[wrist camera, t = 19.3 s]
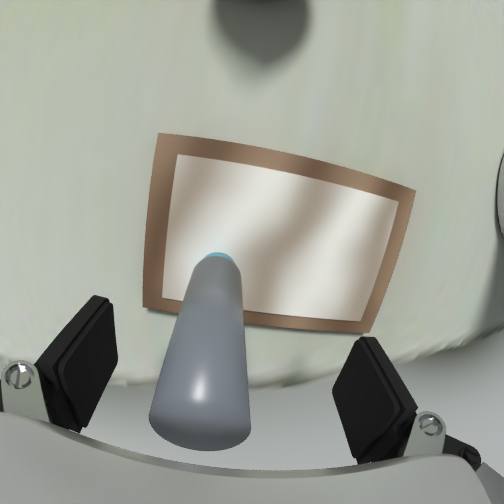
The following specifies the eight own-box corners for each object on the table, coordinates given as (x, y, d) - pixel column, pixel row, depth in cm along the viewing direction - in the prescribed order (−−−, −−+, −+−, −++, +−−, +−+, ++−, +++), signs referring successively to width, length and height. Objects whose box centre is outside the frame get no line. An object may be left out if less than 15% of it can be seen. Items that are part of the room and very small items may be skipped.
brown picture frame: (408, 188, 18) (417, 190, 17) (364, 326, 22) (370, 334, 21) (162, 134, 16) (157, 132, 15) (146, 300, 20) (141, 308, 19)
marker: (244, 251, 18) (260, 403, 6) (236, 293, 19) (242, 454, 7) (197, 244, 17) (145, 387, 6) (192, 286, 18) (152, 442, 7)
